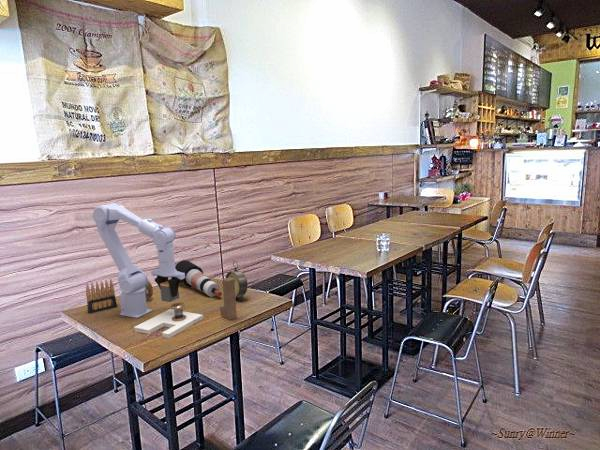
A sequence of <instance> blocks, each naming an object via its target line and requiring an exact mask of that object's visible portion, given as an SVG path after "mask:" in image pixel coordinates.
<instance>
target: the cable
mask: <svg viewBox="0 0 600 450" xmlns="http://www.w3.org/2000/svg"><path fill="white" fill-rule="evenodd" d="M175 269H176V270H177V271H179V272H182V273H185V278H184V279H182V280H181V282H180V283H181V284H183V285H184V286H186V287H188V288H194V289H196V290H198V291H200V292H202V293H204V294H205V295H207V296H209V297H210V298H212V296H213V297H216V296H217V297H218V298H220V297H223V296H222V295H223V291H221V290H220V289H221V287H220V284H218V283H217V282H215V281H214V280H212V279H211V278H209V276H208V275H206V274H205V273H204V271H203V269H202V268H201V267H200V266H198V265H196V264H195V263H193V262H191V261H190V260H188V259H187V260H186V259H184V260H180V261H178V263H177V264H175Z"/></svg>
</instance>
